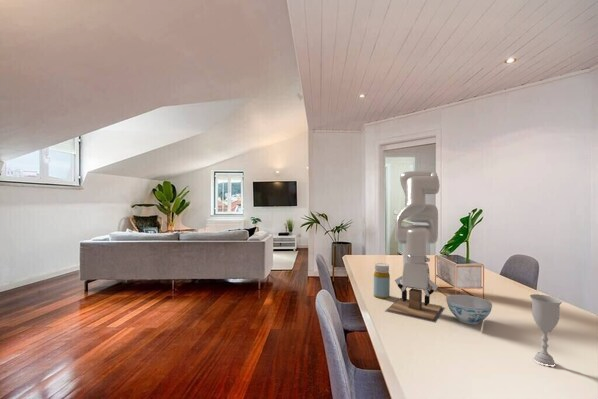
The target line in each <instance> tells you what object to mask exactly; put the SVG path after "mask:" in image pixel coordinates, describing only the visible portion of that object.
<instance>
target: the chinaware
mask: <svg viewBox="0 0 598 399" xmlns="http://www.w3.org/2000/svg"><path fill="white" fill-rule="evenodd" d="M445 299H446V300H445V301H446V303H447V307H448V309H449V311H450V313H452V315H454V316H455V318H457V319H458V321H459V322H461V323H464V324H468V325H478V324H479V323H480V322H482V321H484V320H485V319H487V317H488V316H489V315H490V313H491V311H492V308H493V303H492V302H491V301H489V300H487V299H484V298H482V297H479V296H474V295H468V294H449V295H447V296H446V298H445Z"/></svg>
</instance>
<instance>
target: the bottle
mask: <svg viewBox="0 0 598 399" xmlns="http://www.w3.org/2000/svg"><path fill="white" fill-rule="evenodd" d="M390 276H391V275H390V265H389V264H387V263H382V262H381V263H379V262H378V263H376V262H375V263H374V273H373V296H374V297H375V298H377V299H383V300H387V299H389V298H390V296H391V295H390V292H391V291H390V286H391V284H390V280H391V278H390ZM374 297H373V298H374Z"/></svg>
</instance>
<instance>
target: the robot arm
mask: <svg viewBox="0 0 598 399" xmlns="http://www.w3.org/2000/svg"><path fill="white" fill-rule="evenodd" d="M399 181H400V186H401V188H402V190H403V193H404V197H405V198H404V203H405V204H404V207H403V208H402V209H401V210H400V211H399V212H398V214H397V216H396V218H395V219H394V220H395V221H394V239H395V242H396V243H398V244H402V246H403V247H402V249H403V251H402V252H403V258H402V259H403V261H402V263H403V265H402V274H401V276H399V277H397V278H395V280H394V282H395V283H396V285H397V287H398V288H399V289H400V291H401V298H402V299H403V301H404V302H405V301H406V300H407V299H408V291H407V288H410V289H412V288H413V289H419V290H422V291H423V292H424V294H425V295H424V305H425V306H427V305H428V304H430V302H431V301H430V296H431V295H432V294H434V293H435V291H436V290H437V289H438V288H439V286H438V284H436V283H435V282H434V281H432V280H431V279H430V278H431V276H430V266H429V263H427V262H431V258H430V257H427V244H429V245H430V244H431V245H432V244H436V243H437V242H438V240H439V210H438V207H437V206H436V205H435V204H432V203H431V204H428V203H427V204H426V195H436V194H438V193H439V191H440V179H439V176H438V173H437V172H435V171H432V170H430V171H429V170H428V171H427V170H426V171H425V170H424V171H423V170H422V171H419V170H418V171H417V170H416V171H415V170H414V171H404V172H402V173H401V174H400V176H399ZM403 220H406V221H407V222H409V223H424V224H406V225H404V226H403V225H402V222H403ZM425 224H426V225H425ZM430 287H432V288H431V289H429V288H430Z"/></svg>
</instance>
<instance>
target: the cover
mask: <svg viewBox="0 0 598 399" xmlns="http://www.w3.org/2000/svg"><path fill="white" fill-rule="evenodd" d="M398 299H399V300H398ZM398 299H397V300H398V301H397V300H396V301H395V302H393V303H394V304H393V303H392V304H393V305H392V304H391V305H392V306H391V305H390V306H391V307H390V306H389V307H390V308H389V307H388V308H387V309H388V311H390V312H394V313H399V314H403V315H408V316H412V317H417V318H421V319H426V320H430V321H434V319H435V318H436V316H437V315H438V313H439V312H440V310H441V309H442V307H443V305H440V304H434V303H429V304H428V305H427V306H425V305H424V303H425V301H424V302H423V289H417V288H410V289H409V290H408V298H407V300H406V301H405V302H404V301H403V299H402V297H400V298H398ZM390 312H389V313H390ZM394 313H393V314H394ZM399 314H398V315H399ZM403 315H402V316H403ZM412 317H411V318H412ZM421 319H420V320H421ZM430 321H429V322H430Z"/></svg>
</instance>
